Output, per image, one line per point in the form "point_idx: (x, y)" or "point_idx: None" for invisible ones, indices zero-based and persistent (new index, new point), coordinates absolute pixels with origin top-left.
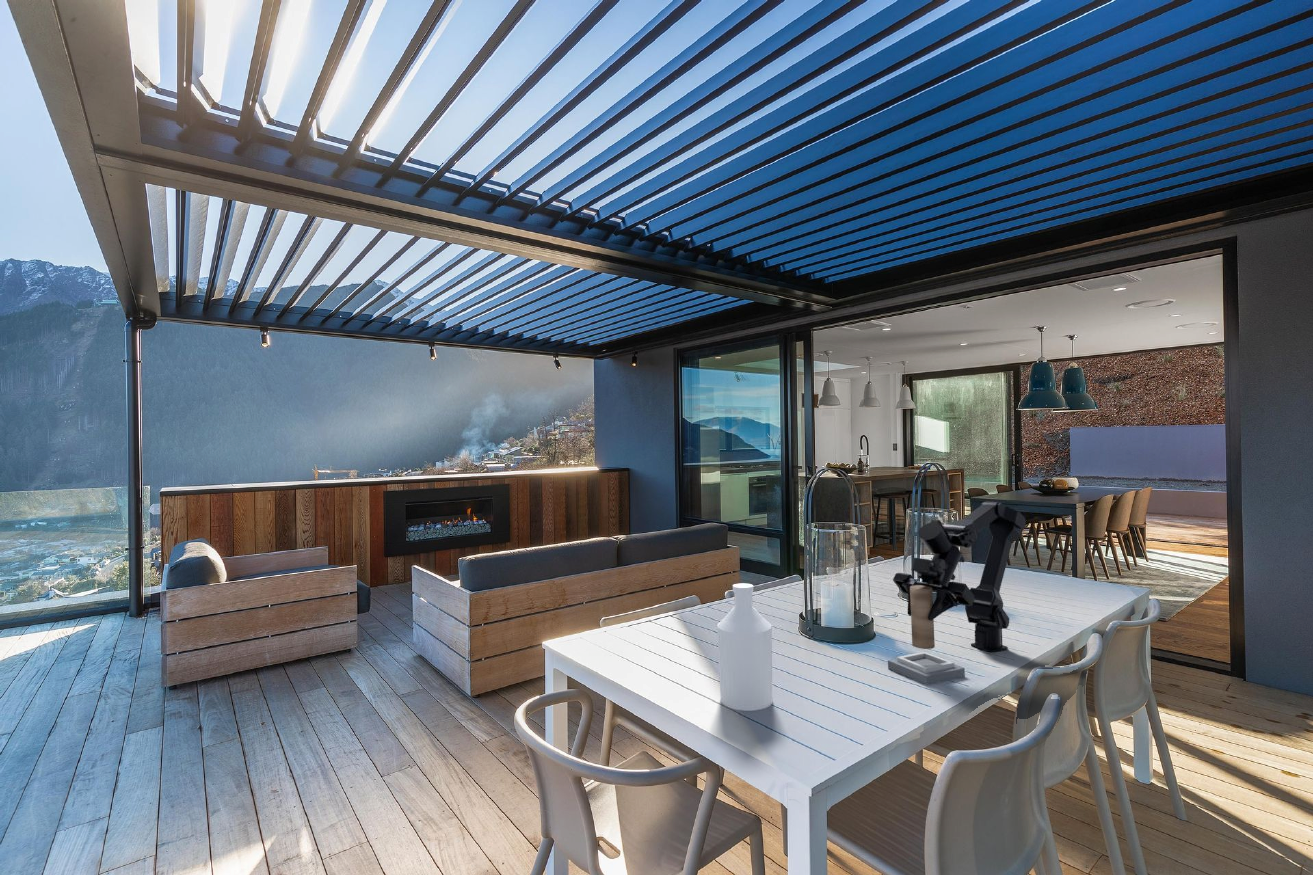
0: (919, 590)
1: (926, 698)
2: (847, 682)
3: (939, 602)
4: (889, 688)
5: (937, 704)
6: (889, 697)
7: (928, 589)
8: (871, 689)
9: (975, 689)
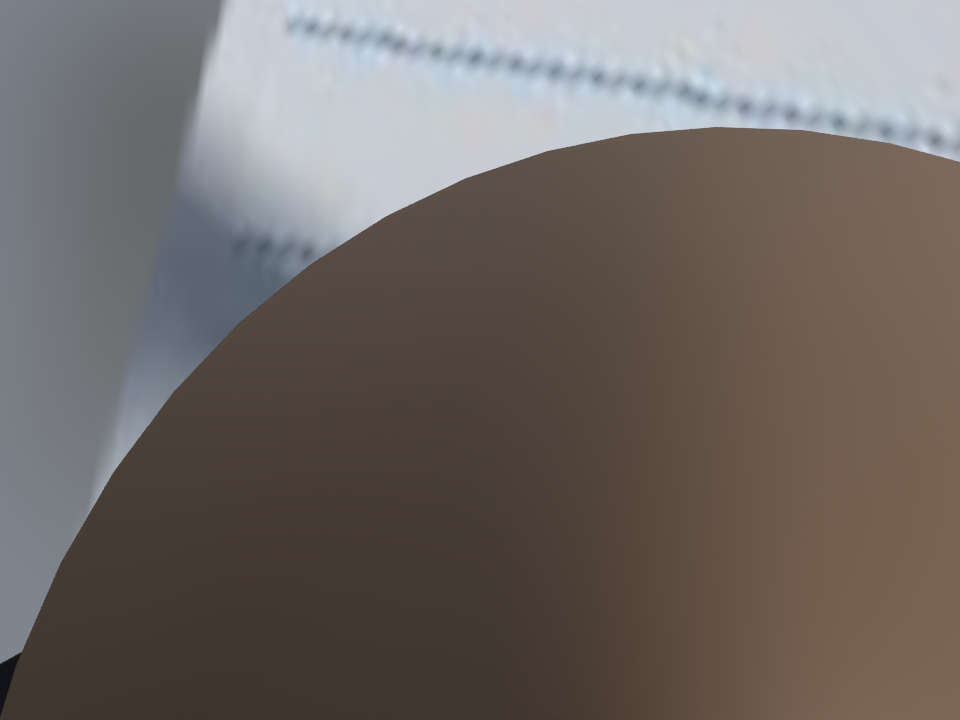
0: (593, 158)
1: (340, 114)
2: (825, 60)
3: (11, 666)
4: (578, 125)
5: (262, 71)
6: (519, 4)
7: (150, 564)
8: (655, 48)
9: (113, 452)
